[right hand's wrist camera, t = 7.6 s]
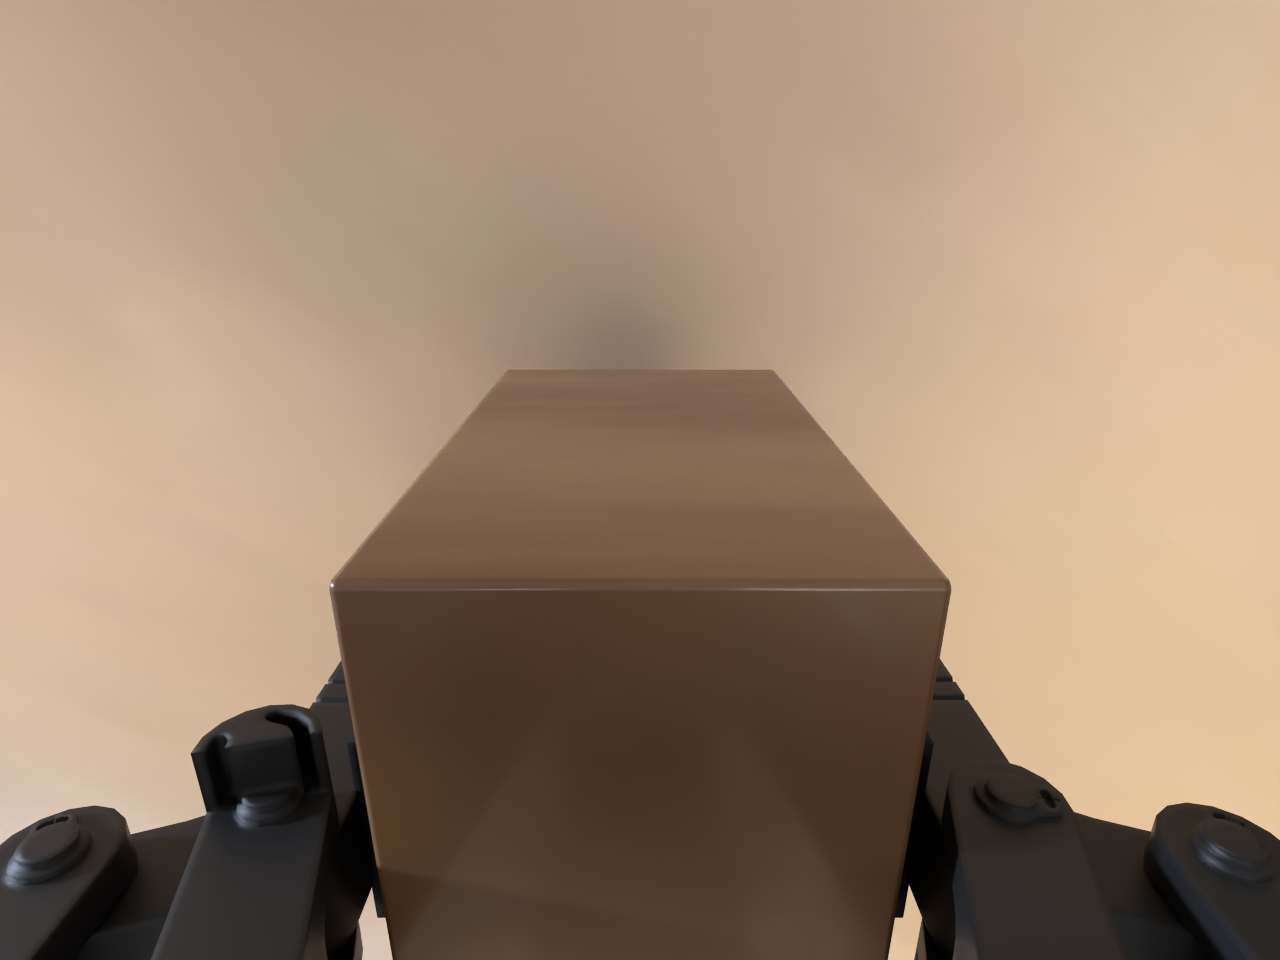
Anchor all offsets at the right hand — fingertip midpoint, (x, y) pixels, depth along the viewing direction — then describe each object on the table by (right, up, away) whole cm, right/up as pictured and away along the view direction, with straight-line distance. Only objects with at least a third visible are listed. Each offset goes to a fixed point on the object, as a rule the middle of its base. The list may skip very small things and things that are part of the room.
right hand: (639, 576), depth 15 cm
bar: (0, -8, +4) cm, 8 cm away
